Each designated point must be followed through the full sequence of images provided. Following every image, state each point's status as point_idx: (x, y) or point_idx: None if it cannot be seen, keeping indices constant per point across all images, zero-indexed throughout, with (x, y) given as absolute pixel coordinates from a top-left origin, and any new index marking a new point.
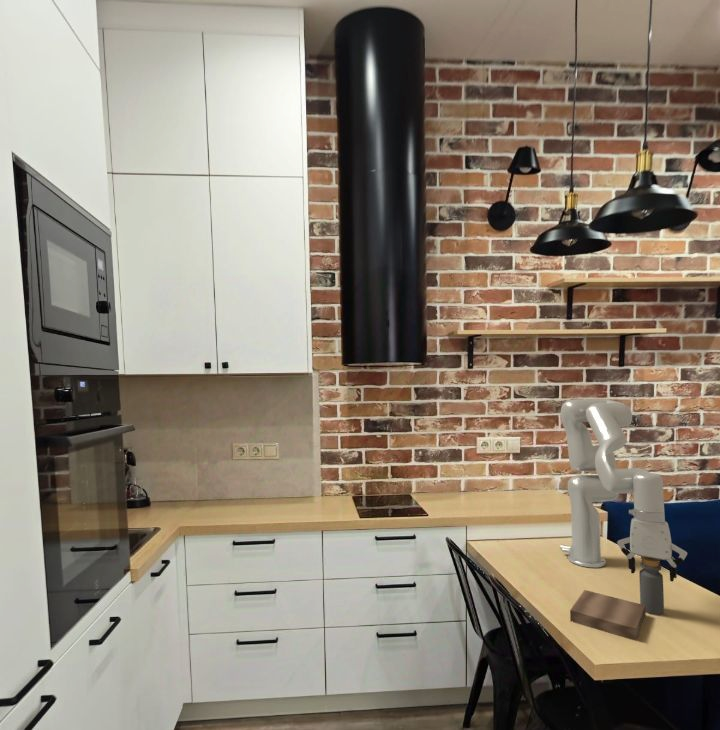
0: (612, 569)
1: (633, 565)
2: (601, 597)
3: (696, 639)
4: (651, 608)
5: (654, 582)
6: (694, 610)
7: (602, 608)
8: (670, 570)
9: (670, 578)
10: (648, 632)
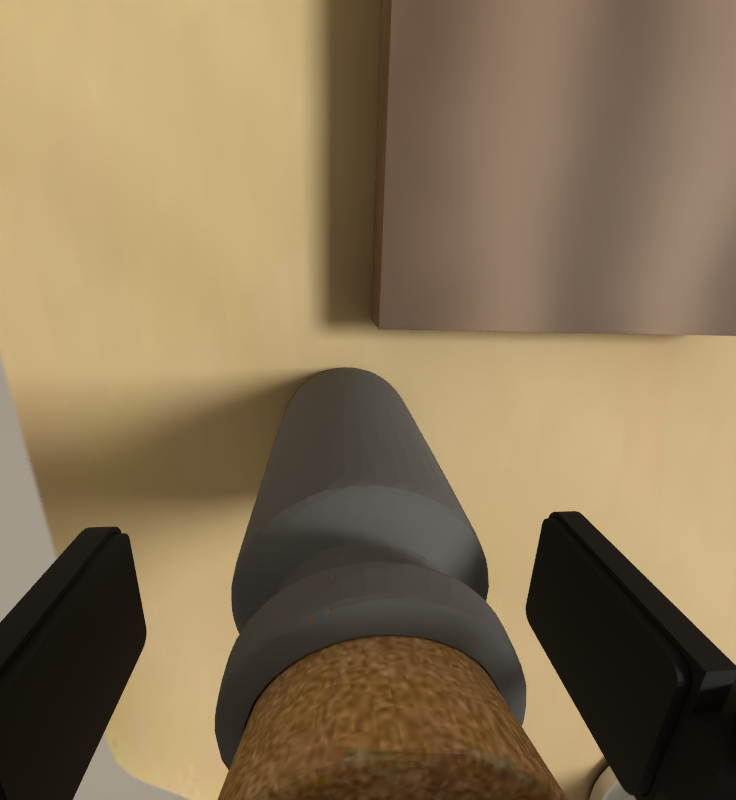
0: (556, 771)
1: (614, 589)
2: (671, 272)
3: (47, 150)
4: (343, 375)
5: (313, 465)
6: (152, 564)
7: (680, 32)
8: (1, 655)
9: (103, 551)
10: (328, 51)
